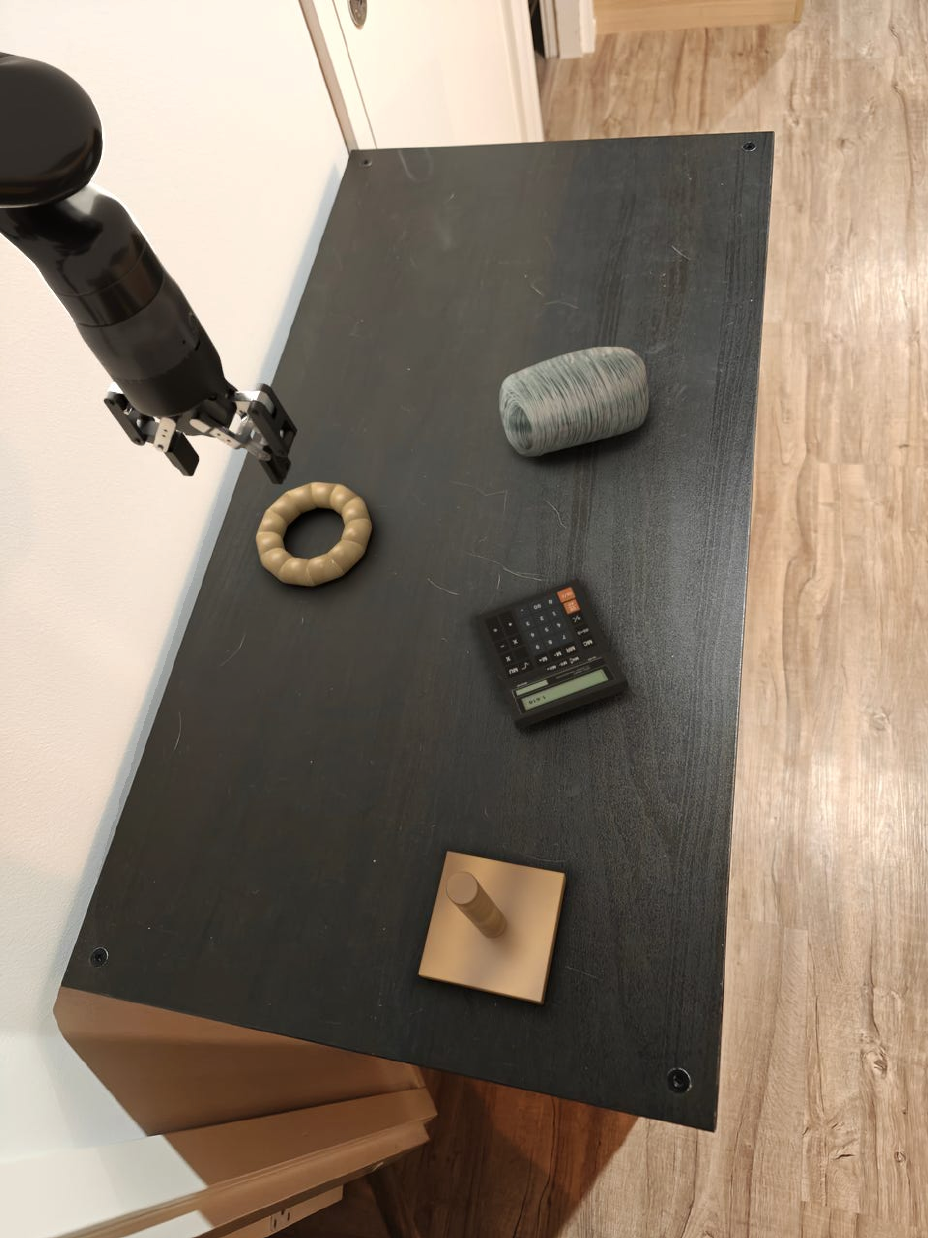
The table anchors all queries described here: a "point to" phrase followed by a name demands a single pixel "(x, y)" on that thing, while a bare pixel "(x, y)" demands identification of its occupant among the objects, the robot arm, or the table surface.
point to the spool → (574, 400)
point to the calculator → (550, 654)
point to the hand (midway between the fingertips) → (237, 471)
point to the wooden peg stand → (494, 927)
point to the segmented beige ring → (323, 565)
